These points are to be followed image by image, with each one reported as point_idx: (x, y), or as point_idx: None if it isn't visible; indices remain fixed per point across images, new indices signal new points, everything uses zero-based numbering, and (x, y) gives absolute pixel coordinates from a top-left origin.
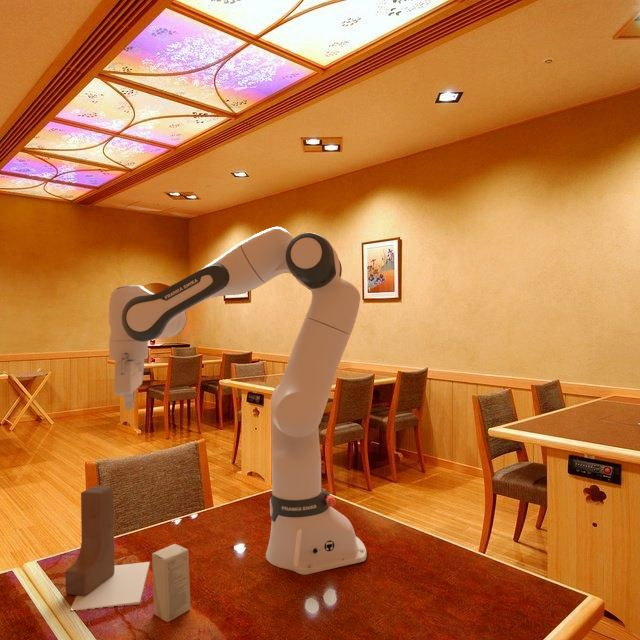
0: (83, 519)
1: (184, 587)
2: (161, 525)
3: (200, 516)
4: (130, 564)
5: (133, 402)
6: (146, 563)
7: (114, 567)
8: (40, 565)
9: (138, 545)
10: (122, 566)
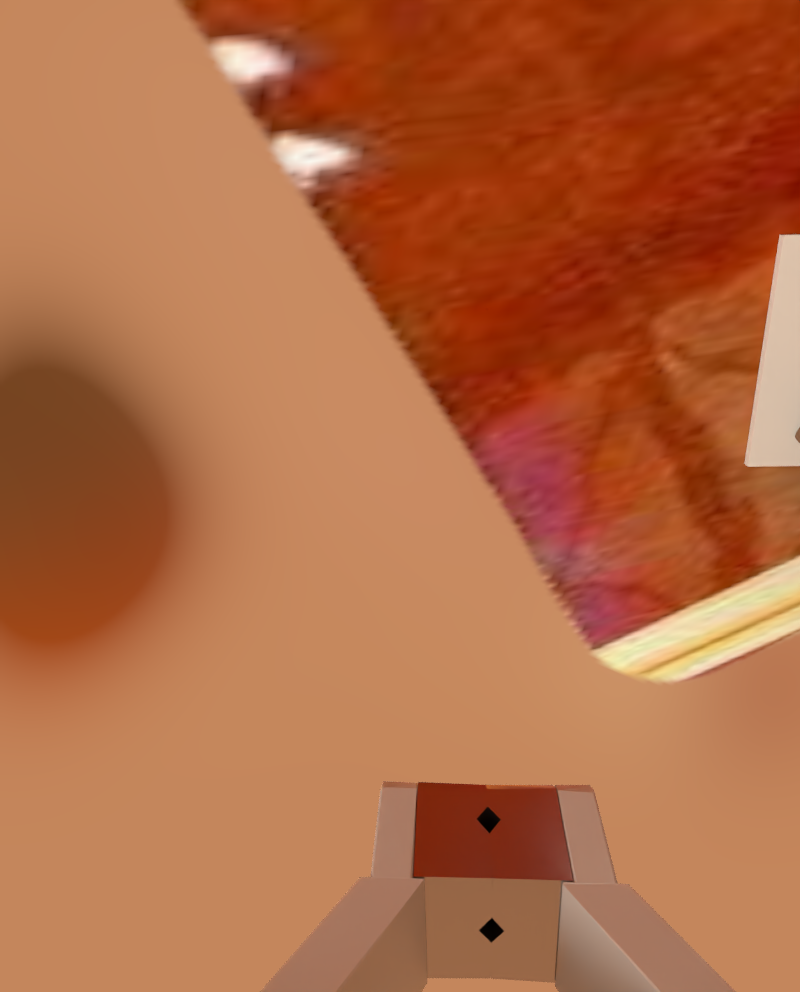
0: None
1: None
2: (352, 238)
3: (261, 20)
4: (776, 316)
5: (486, 859)
6: (796, 247)
7: (778, 376)
8: (631, 632)
9: (563, 315)
10: (784, 345)
